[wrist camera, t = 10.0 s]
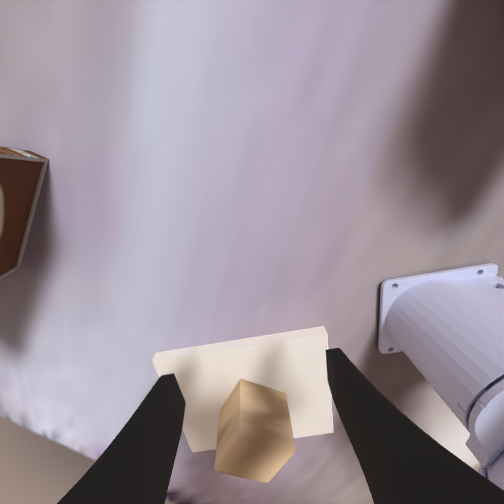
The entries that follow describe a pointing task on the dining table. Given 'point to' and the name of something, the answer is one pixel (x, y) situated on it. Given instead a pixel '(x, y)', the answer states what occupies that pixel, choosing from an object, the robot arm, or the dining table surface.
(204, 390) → the painted board
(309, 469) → the dining table surface
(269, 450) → the oak cube
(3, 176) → the food container
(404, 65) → the dining table surface
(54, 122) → the dining table surface
